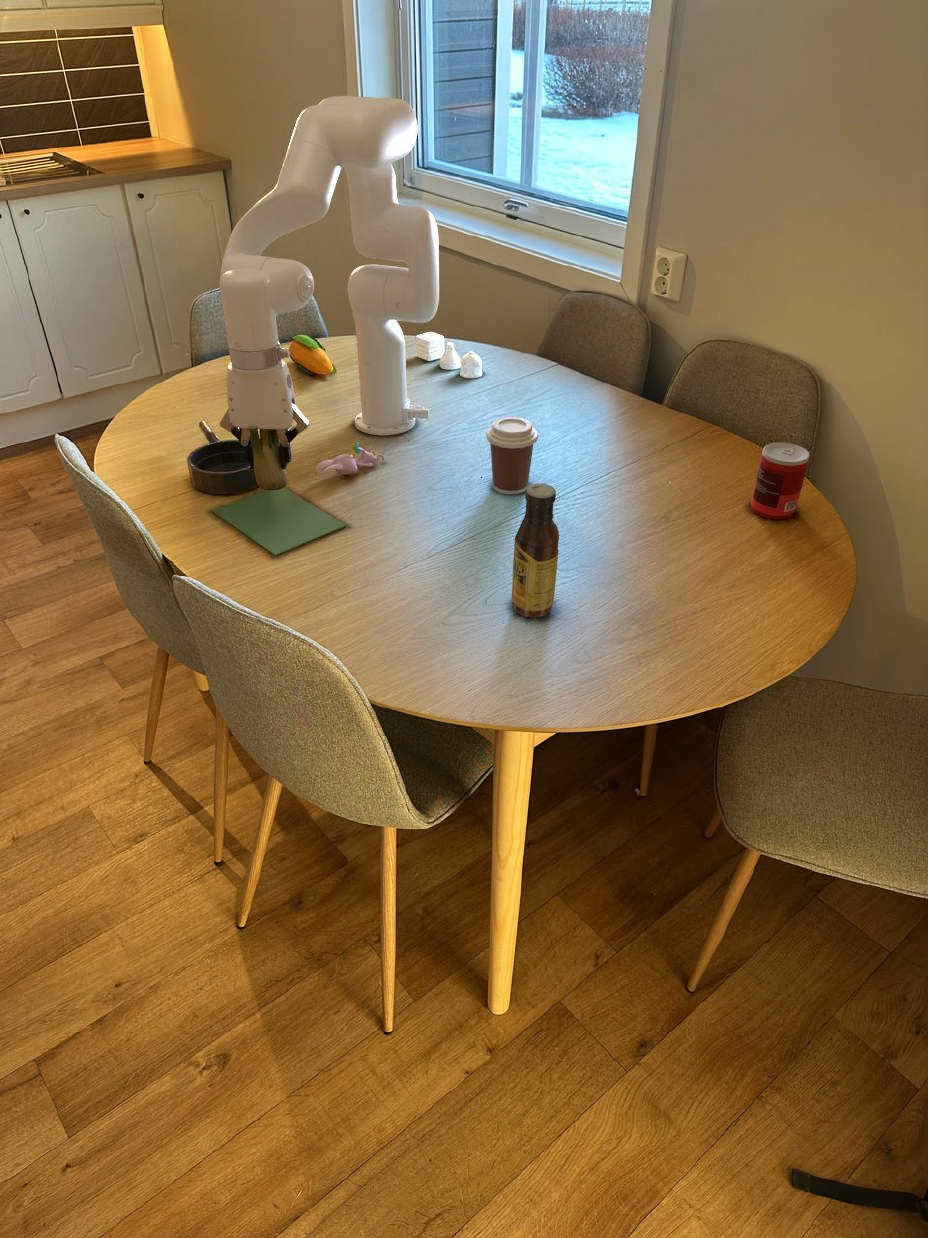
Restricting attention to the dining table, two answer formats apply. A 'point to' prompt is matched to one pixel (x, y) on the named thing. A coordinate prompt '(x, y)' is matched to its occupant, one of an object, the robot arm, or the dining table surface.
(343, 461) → the rabbit figure
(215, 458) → the pan
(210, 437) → the pan handle
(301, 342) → the corn
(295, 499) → the cloth
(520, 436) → the coffee cup
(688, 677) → the dining table surface
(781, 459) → the canned food
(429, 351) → the container set
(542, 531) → the sauce bottle
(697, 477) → the dining table surface
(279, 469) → the fennel bulb
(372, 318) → the robot arm
